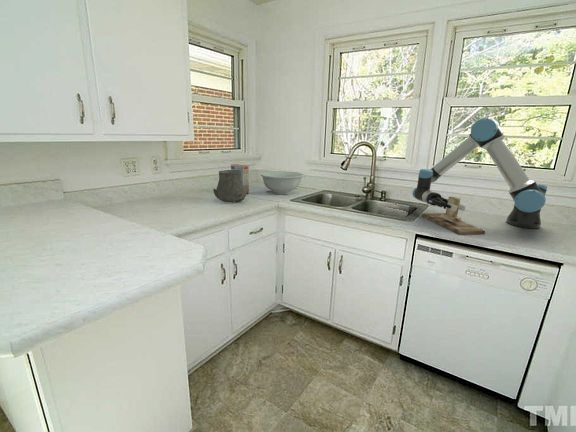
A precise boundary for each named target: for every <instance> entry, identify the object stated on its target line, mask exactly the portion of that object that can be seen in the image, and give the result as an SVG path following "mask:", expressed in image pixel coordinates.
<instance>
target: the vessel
mask: <svg viewBox="0 0 576 432" xmlns="http://www.w3.org/2000/svg"><path fill="white" fill-rule="evenodd" d="M241 174H242V171H240V170H231V169H225V170H218V181H217V186H216V188H213V189H212V190H213V194H214V196H215V197H216V199H218V200H219V201H222V202H225V203H238V202H242V201H244V200H245V199H246V195H247V194H245V190H244V187H243V184H242V179H241Z"/></svg>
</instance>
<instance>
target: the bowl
mask: <svg viewBox="0 0 576 432" xmlns="http://www.w3.org/2000/svg"><path fill="white" fill-rule="evenodd" d="M260 176H261V177H262V180H263V181H262V182H263V185H264V186H265V187H266V188H267V189H268V190H270V191H271V193H272V194H275V195H290V194H292V193H293V191H294V190H296V189H297V188H299V187H300V185H301V181H302V178H303V177H304V174H303V173H301V172H297V171H295V172H294V171H286V170H285V171H283V170H282V171H281V170H279V171H278V170H277V171H276V170H274V171H271V170H270V171H264V172H261V173H260Z"/></svg>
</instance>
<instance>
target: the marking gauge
mask: <svg viewBox="0 0 576 432" xmlns="http://www.w3.org/2000/svg"><path fill="white" fill-rule="evenodd" d="M447 199H448V203H450V204H453V205H456V206H457V211H453V210H451V209H448V208H447V207H446V209H445V212H440V213H441V217H442V218H445V219H447V220H449V221H451V222H460V221H462V217H460V216H458V213H459V204H461V201H462V200H461V197H457V196H448V198H447Z"/></svg>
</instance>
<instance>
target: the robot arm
mask: <svg viewBox="0 0 576 432" xmlns="http://www.w3.org/2000/svg"><path fill="white" fill-rule="evenodd" d="M505 137H506V135H505V132H504V131H503V129H502V128H501V125H500V123H499V122H498V120H497V119H494V118H492V117H487V116H486V117H482V118H480V119H477V120H475V122H473V124H472V125H471V128H470V133H469V134H468V137H467V138H466V139H465V140H464V141H463V142H461V143H460V144H459V145H457V146H456V147H455V148H454V149H453V150H452V151H450V153H448V154H447V155H445V156H444V158H442V159H440V160H439V162H438V163H436V164H435V165H434V166H433V167H431V168H430V169H429V168H428V169H427V168H422V169H420V170H419V173H418V177H417V178H418V180H417V185H416V187H415V188H414V189H413V190H412V196H413V198H414V199H416V200H418V201H421V202H423V203H426V204H427V205H431V206H435V207H436V206H437V207H440V208H443V209H444V210H446V208H448V209H451V210H453V211H457V206H456V205H453V204H450V203H448V198H445V197H443V196H442V195H441V194H440V193H439V192H436V191H432V190H431V185H432V183H436V181H438V180H439V178H441V177H442V176H443V175H445V174H446V173H447V172H448V171H450V169H452V168H453V167H454V166H455V165H457V164H458V163H460V162H461V161H462V160H464V159H465V157H467V156H469V155H470V154H471V153H472V152H473V151H474V150H476V149H477V148H478V147H480V149H484V150H486V152H487V154H488V155H489V157H490V158H491V160H492V162H493V163H494V164H495V166H496V168H497V170H498V171H499V172H500V174H501V175H502V178H503V179H504V180H505V182H506V183H507V185H508V187H509V191H508V194H509V195H510V197H511V198H512V200H513V202H514V204H513V209H511V212H510V213H509V214H508V216H507V218H506V220H505V222H506V223H507V224H509V225H512V226H514V227H515V226H516V227H520V228H526V229H533V230H534V229H536V230H537V229H540V228H541V226H542V220H541V210H542V208H544V206H545V204H546V200H547V199H546V194H547V191H548V186H547V185H545V184H537V183H536V181H535V180H532V179H529V177H528V175H527V174H526V172H525V171H524V169H523V167H522V166H521V165H520V163H519V161H518V160H517V158H516V157H515V155H514V153H513V152H512V150H511V148H509V146H508V144H507V143H506V141H505V140H504V139H505ZM459 210H460V211H463V212H465V211H466V205H464V204H461V203H460V204H459V209H458V211H459Z"/></svg>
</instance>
